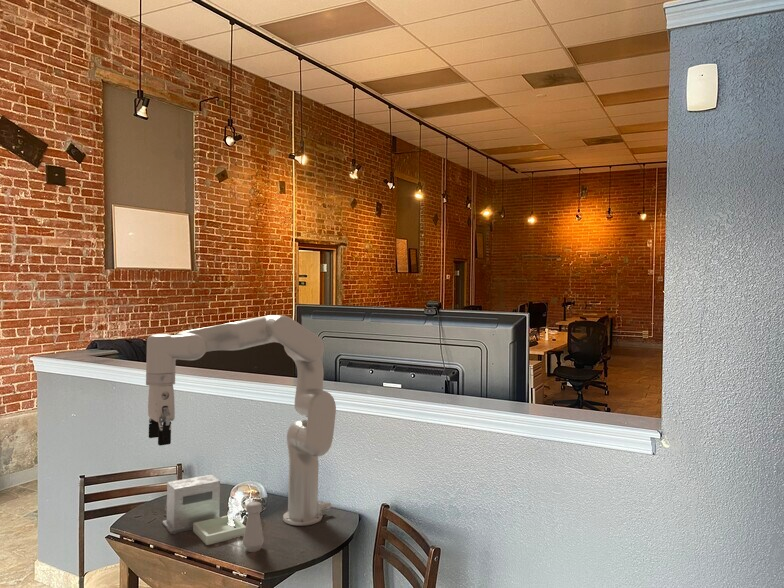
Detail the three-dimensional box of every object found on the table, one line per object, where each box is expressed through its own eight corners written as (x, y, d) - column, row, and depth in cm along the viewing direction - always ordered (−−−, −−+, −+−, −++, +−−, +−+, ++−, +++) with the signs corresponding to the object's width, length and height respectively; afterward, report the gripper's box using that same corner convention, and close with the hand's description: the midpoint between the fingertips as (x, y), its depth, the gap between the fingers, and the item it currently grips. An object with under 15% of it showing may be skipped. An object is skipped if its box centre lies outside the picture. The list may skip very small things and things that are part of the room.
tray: (231, 522, 178) (231, 514, 178) (246, 535, 169) (246, 526, 169) (193, 531, 171) (193, 522, 171) (206, 545, 162) (206, 536, 162)
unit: (212, 512, 186) (213, 473, 186) (223, 522, 178) (224, 481, 178) (162, 523, 177) (163, 481, 177) (171, 534, 169) (172, 490, 169)
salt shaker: (267, 549, 160) (268, 503, 160) (250, 555, 155) (251, 508, 156) (255, 542, 164) (256, 498, 164) (238, 549, 159) (239, 503, 160)
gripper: (184, 381, 151) (182, 445, 151) (166, 374, 165) (164, 433, 165) (154, 384, 147) (153, 449, 147) (138, 376, 161) (137, 436, 160)
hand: (159, 440), depth 156 cm, fingers open, 9 cm apart
